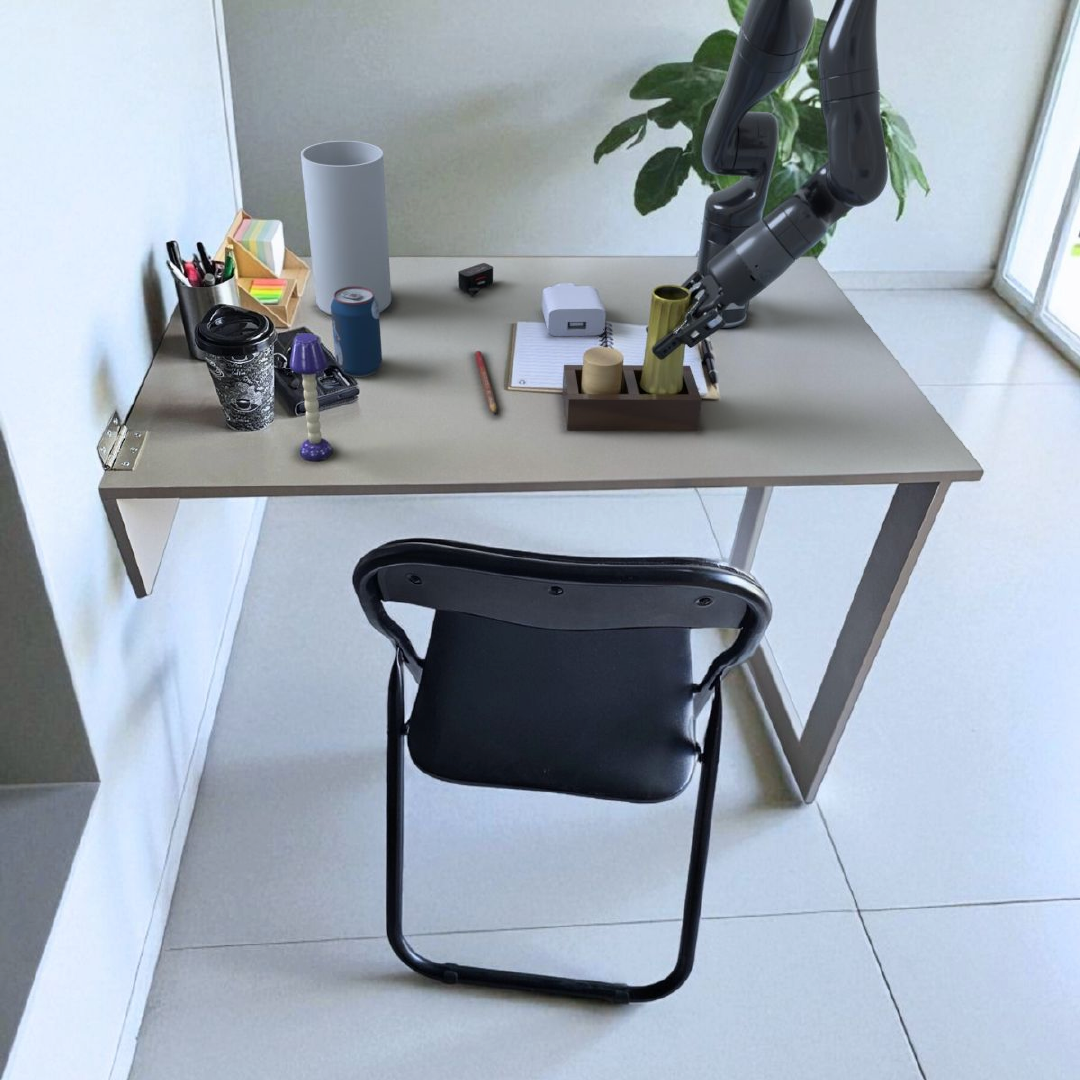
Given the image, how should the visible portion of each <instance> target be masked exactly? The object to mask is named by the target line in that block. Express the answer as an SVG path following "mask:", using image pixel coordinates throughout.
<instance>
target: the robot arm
mask: <svg viewBox="0 0 1080 1080" xmlns="http://www.w3.org/2000/svg"><path fill="white" fill-rule="evenodd" d="M877 11H878V0H835V1H834V4H833V6H832V8H831V12H830V14H829V17H828V19H827V22H826V24H825V27H824V29H823V32H822V34H821V35H822V36H821V38H820V42H819V46H818V52H817V78H818V90H819V99H820V100H819V101H820V109H821V115H822V120H823V122H824V126H825V130H826V142H827V158H828V160H826V161H825V162H824V164H822V165H821V166H820V167H819V168H818V169H817V170H816V171H815V172H814V173H813V174H812V175H811V176H810V177H809V178H808V179H807V180H806V181H805V182H803V184H802V185H801V186H800V187H799V188H798V189H797V190H796V191H795V192H794V193H792V194H790V196H788V197H787V198H785V199H784V200H783V201H782V202H780V203H779V204H777V206H775V207H774V208H773V209H772V210H771V211H770V212H768V213H767V214H766V215H765V216H764V210H765V207H766V202H767V199H768V193H769V187H770V182H771V178H772V173H773V169H774V166H775V161H776V155H777V151H778V144H779V137H780V135H779V134H780V133H779V124H778V119H777V118H776V116H775V115H774V114H773V113H771V112H767V111H750V110H751V109H752V108H754V107H755V106H756V105H757V104H759V103H760V102H761V101H763V100H764V99H766V98H767V97H768V96H769V95H771V94H772V93H774V92H775V91H776V90H778V88H780V87H782V85H784V84H785V83H786V82H787V81H788V80H789V79H790V78H791V76H793V74H794V73H795V72H796V71H797V69H798V68H799V66H800V63H801V62H802V60H803V57H804V55H805V51H806V49H807V46H808V44H809V41H810V39H811V36H812V33H813V30H814V24H815V15H814V14H815V12H814V7H813V3H812V1H811V0H749V1H748V3H747V5H746V8H745V11H744V14H743V17H742V20H741V24H740V27H739V30H738V34H737V37H736V41H735V44H734V48H733V52H732V57H731V59H730V63H729V67H728V70H727V73H726V77H725V79H724V82H723V85H722V88H721V90H720V92H719V94H718V98H717V100H716V103H715V105H714V107H713V109H712V111H711V114H710V116H709V119H708V121H707V124H706V127H705V131H704V135H703V139H702V140H703V141H702V145H701V160H702V164H703V166H704V168H705V169H706V170H707V172H709V173H711V174H712V175H717V176H725V177H726V176H729V177H730V176H731V177H732V176H734V177H742V178H740V179H739V180H738V181H737V182H735V183H733V184H731V185H729V186H727V187H725V188H722V189H718V190H716V191H714V192H713V193H711V194H710V195H708V196H707V198H706V200H705V204H704V209H703V217H702V226H701V232H700V233H701V234H700V240H699V241H700V242H699V249H698V255H697V256H698V257H697V258H698V259H697V263H696V271H694V272H693V273H692V274H691V275H690V276H689V277H688V278H687V279H686V280H685V281H684V282H683V283H682V284H681V285H680V286H681V287H684V288H686V289H688V290H689V291H690V293H691V301H690V306H689V307H688V308H687V309H686V310H685V312H684V313H683V314H682V320H681V321H680V323H679V324H678V325H677V326H676V327H675V328H674V330H673V332H672V331H671V332H669V333H668V334H667V335H666V336H665V337H663V338H662V339H661V340H660V341H659V342H657V343H656V344H655V345H654V346H653V347H652V352H653V353H654V354H655V355H656V356H657V357H658V358H659V359H660V360H663V359H664V358H666V357H667V356H668V355H669V354H670V353H672V352H673V351H674V350H675V349H676V348H678V347H679V346H680V345H681V344H684V345H685V346H687V347H688V348H689V349H692V348H695V346H697V345H698V344H700V343H701V342H703V341H704V340H706V339H707V338H709V337H711V336H712V335H713V334H714V333H716V332H718V331H719V330H721V329H731V328H736V327H739V326H741V325H743V324H745V322H746V319H747V315H748V313H749V307H750V302H751V301H752V300H753V299H754V298H755V297H757V295H759V294H760V293H761V292H763V291H764V290H765V289H766V288H767V287H769V286H770V285H771V284H772V283H774V282H775V281H776V280H777V279H778V278H780V277H781V276H782V275H783V274H785V272H787V270H788V269H789V268H790V267H791V266H792V265H793V264H794V263H795V262H796V261H797V260H799V259H800V258H801V257H803V255H805V254H806V253H807V252H809V251H810V250H811V249H812V248H813V247H815V245H817V243H819V242H821V240H822V239H823V238H824V237H825V236H826V235H827V233H828V231H829V230H830V228H831V227H832V226H833V225H834V224H835V223H837V222H838V221H840V219H841V218H842V217H844V216H846V214H848V213H849V212H850V211H852V210H853V208H858V207H859V208H860V207H865V206H867V205H869V204H871V203H873V202H874V201H876V200H877V199H878V198H879V197H880V196H881V195H882V193H883V192H884V191H885V188H886V186H887V183H888V178H889V164H888V155H887V154H888V153H887V147H886V141H885V134H884V129H883V122H882V117H881V91H880V87H881V86H880V75H879V62H878V48H877V47H878V46H877V13H878V12H877ZM763 216H764V217H763ZM687 324H688V325H687ZM686 325H687V327H685V326H686ZM684 327H685V328H684ZM645 330H646V333H648V325H647V326H646V327H645Z"/></svg>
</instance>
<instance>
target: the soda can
mask: <svg viewBox="0 0 1080 1080" xmlns="http://www.w3.org/2000/svg"><path fill="white" fill-rule="evenodd" d="M330 316H331V326H332V337H333V347H334V359H335V364H336V363H337V364H336V366H337V365H338V366H339V367H340V368H342V369H343V370H344V371H343V370H341V369H340V368H339V367H338V366H337V367H338V369H339V370H340V371H341V372H342V373H343V374H344V375H346V376H348V377H351V378H365V377H368V376H373V374H375V373H376V372H377V371H378V370H379V368H380V366H382V362H383V351H382V337H381V336H382V335H381V322H380V320H381V319H380V313H379V304H378V302H377V300H376V299H375V297H374V293H373V291H372V290H370V289H368V288H365V287H359V286H351V287H345V288H341V289H339V290H337V291H336V292H335V293H334V299H333V301H332V304H331V315H330Z"/></svg>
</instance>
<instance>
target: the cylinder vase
mask: <svg viewBox="0 0 1080 1080" xmlns="http://www.w3.org/2000/svg"><path fill="white" fill-rule="evenodd" d="M300 159H301V168H302V178H303V179H302V181H303V189H304V198H305V199H304V200H305V208H306V209H305V210H306V218H307V226H308V227H307V228H308V236H309V237H308V238H309V246H310V255H311V264H312V265H311V266H312V274H313V275H312V276H313V286H314V294H315V302H316V305H317V307H318V308H319V309H320V311H321V312H323V313H325V314H327V315H329V316H332V315H331V304H332V301H333V299H334V293H335V292H336V291H337V290H339V289H341V288H345V287H351V286H359V287H365V288H368V289H370V290H372V291H373V293H374V297H375V299H376V300H377V302H378V304H379V314H380V313H382V312H384V311H385V310H386V309H387V308H388V307H389V306H390V305H391V302H392V285H391V284H392V283H391V267H390V253H389V250H390V249H389V234H388V218H387V217H388V213H387V198H386V181H385V179H386V178H385V165H384V164H385V163H384V150H383V149H381V147H379V146H377V145H375V144H371V143H368V142H364V141H358V140H357V141H355V140H332V141H331V140H330V141H324V142H323V141H322V142H318V143H315V144H311V145H309V146H307V147H305V148H303V149H302V150H301V152H300Z"/></svg>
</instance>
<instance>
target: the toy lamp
mask: <svg viewBox="0 0 1080 1080" xmlns="http://www.w3.org/2000/svg"><path fill="white" fill-rule="evenodd" d="M327 367H328V361H327V358H326V355H325V352H324V350H323V347H322V344H321V341H320V339H319V337H318V336H317V335H316V334H313V333H301V334H297V335H296V336H295V337H294V339H293V342H292V348H291V352H290V359H289V368H290V370H291V371H292V372H293V373H295V374H299V375H301V377H302V387H303V398H304V408H305V409H304V410H305V419H306V421H307V422H306V429H307V431H308V433H307V439H306V440H304V441H303V442H302V444H301V446H300V449H299V456H300V457H301V458H303V459H304V460H308V461H314V462H315V461H321V460H325V459H327V458H329V457H330V456H331V455H332V453H333V448H332V446H331V444H330V442H329V441H328V440H327V439H325V438H322V437H323V436H322V435H323V434H322V432H321V427H322V425H321V422H320V418H321V413H320V411H319V406H320V404H319V400H318V396H319V395H318V390H317V386H318V383H317V379H316V376H317V374H320V373H322V372H324V371H325V370H326V369H327Z"/></svg>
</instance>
